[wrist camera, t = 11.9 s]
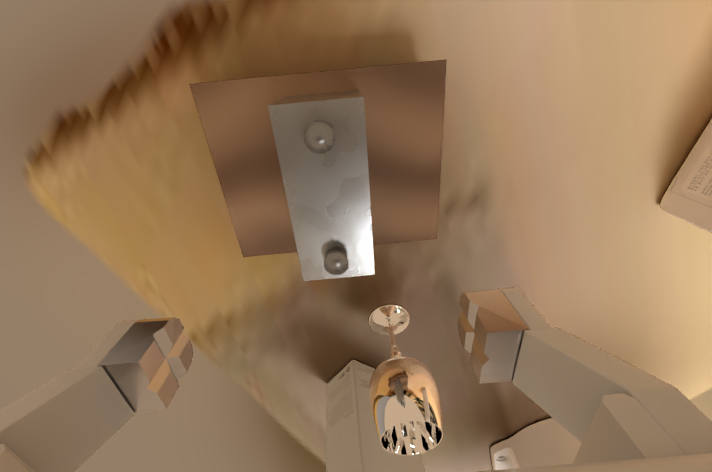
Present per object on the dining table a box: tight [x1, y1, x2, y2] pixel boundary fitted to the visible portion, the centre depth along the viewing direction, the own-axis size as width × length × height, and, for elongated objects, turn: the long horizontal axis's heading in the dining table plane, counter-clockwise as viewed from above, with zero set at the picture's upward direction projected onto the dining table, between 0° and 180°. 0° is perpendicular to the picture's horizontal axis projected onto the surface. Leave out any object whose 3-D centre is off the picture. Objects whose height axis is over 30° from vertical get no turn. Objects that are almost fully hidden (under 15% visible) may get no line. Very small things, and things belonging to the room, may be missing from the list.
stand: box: [189, 60, 446, 257], centre depth 22 cm, size 12×15×4 cm
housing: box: [268, 90, 375, 281], centre depth 18 cm, size 4×10×6 cm, turn 5°
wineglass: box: [369, 304, 443, 455], centre depth 28 cm, size 6×6×12 cm
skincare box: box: [326, 360, 425, 472], centre depth 31 cm, size 8×6×15 cm
